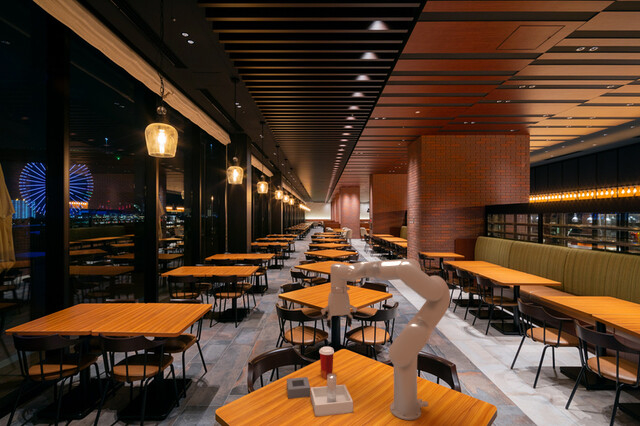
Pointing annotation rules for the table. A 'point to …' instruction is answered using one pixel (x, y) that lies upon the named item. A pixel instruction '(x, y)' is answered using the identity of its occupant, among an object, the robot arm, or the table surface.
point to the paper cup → (326, 361)
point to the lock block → (298, 387)
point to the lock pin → (331, 388)
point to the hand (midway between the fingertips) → (339, 327)
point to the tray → (339, 407)
